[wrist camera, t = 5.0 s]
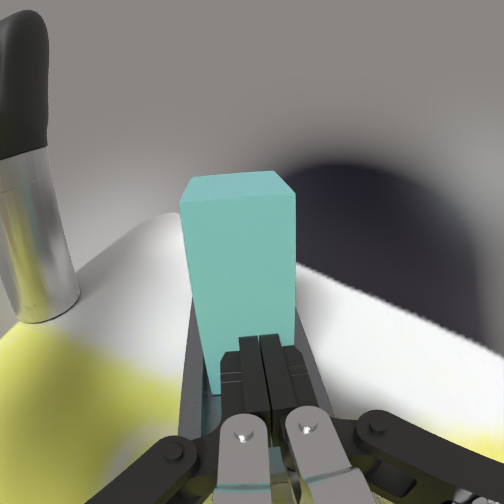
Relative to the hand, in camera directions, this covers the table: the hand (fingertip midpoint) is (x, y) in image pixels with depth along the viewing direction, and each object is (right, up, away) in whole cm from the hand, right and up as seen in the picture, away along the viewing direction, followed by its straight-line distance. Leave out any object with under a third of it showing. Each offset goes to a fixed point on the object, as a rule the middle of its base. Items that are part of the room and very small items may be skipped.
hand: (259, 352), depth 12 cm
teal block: (-1, -4, +9) cm, 10 cm away
